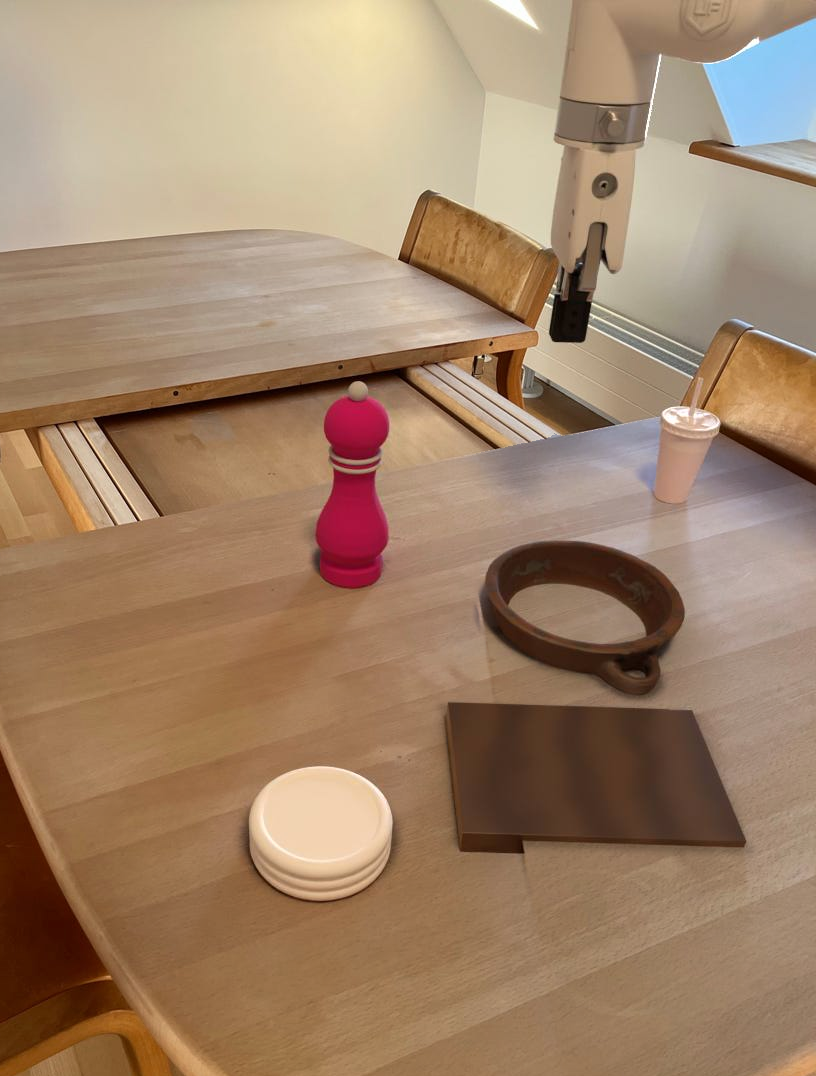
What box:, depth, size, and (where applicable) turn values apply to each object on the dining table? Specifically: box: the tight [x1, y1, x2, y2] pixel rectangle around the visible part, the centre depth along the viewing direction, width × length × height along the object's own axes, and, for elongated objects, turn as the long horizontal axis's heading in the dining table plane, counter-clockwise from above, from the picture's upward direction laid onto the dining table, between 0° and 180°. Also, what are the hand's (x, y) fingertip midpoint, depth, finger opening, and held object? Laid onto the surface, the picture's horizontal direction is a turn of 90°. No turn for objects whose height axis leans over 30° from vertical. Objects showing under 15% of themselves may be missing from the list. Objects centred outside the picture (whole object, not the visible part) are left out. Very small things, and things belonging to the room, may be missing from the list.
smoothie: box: [653, 377, 722, 505], centre depth 108 cm, size 6×6×14 cm
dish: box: [484, 540, 686, 696], centre depth 89 cm, size 18×22×5 cm
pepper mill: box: [314, 380, 390, 589], centre depth 92 cm, size 7×7×20 cm
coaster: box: [248, 765, 394, 902], centre depth 68 cm, size 10×10×4 cm
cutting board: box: [445, 701, 747, 854], centre depth 74 cm, size 20×14×2 cm
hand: (566, 339), depth 92 cm, fingers closed
